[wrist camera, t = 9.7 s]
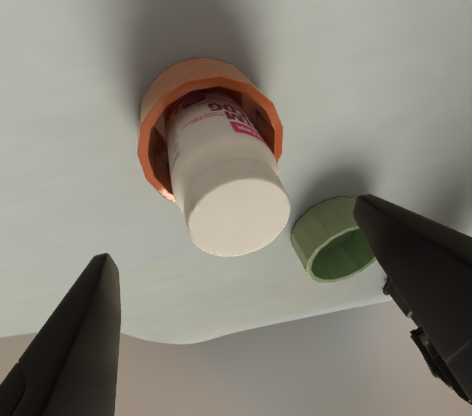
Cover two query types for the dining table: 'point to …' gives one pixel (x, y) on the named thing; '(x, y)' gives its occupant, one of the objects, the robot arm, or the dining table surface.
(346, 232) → the green cup
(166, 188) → the terracotta cup
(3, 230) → the dining table surface
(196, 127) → the pill bottle
